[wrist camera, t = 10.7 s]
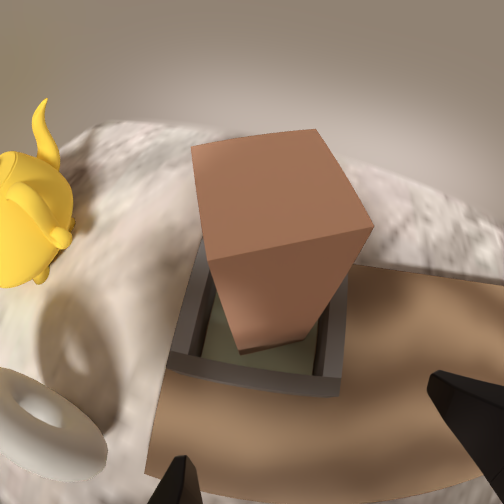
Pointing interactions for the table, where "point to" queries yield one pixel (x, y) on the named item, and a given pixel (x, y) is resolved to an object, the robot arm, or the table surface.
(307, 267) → the block
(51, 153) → the teapot
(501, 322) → the puzzle board
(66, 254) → the table surface
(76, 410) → the donut
